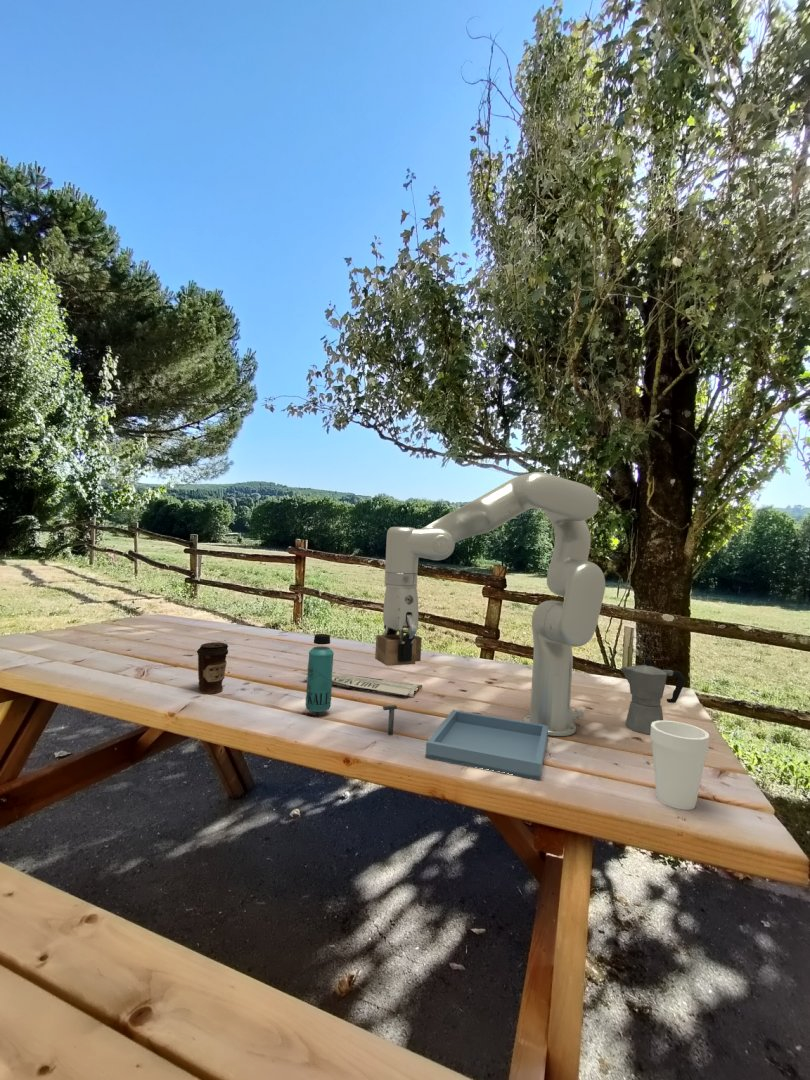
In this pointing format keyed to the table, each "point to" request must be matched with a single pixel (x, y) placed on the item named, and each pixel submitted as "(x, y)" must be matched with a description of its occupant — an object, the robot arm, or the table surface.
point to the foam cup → (678, 762)
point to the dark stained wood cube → (395, 650)
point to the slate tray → (490, 743)
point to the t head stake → (390, 717)
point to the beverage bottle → (319, 675)
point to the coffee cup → (211, 666)
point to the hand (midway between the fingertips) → (397, 656)
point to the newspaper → (374, 684)
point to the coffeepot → (648, 694)
